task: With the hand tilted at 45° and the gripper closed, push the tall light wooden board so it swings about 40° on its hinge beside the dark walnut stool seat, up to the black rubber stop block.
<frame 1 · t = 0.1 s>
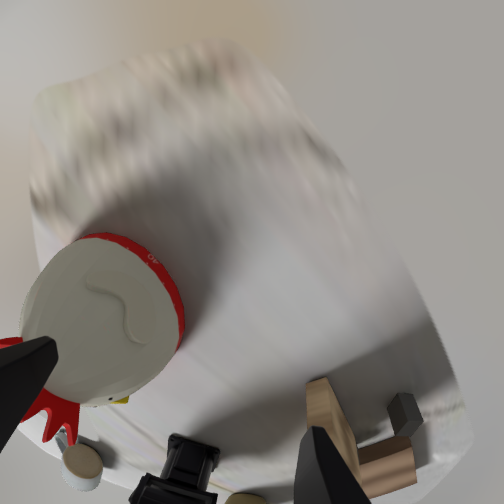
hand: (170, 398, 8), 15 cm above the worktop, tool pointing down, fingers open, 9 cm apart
squeeze bottle: (247, 498, 35), on the worktop
stop block: (399, 401, 25), on the worktop
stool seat: (349, 443, 28), on the worktop
kitchen timer: (116, 304, 25), on the worktop
ceramic mug: (83, 448, 37), on the worktop
light wooden board: (342, 474, 20), point 7 cm above the worktop, hinge at 0.0°
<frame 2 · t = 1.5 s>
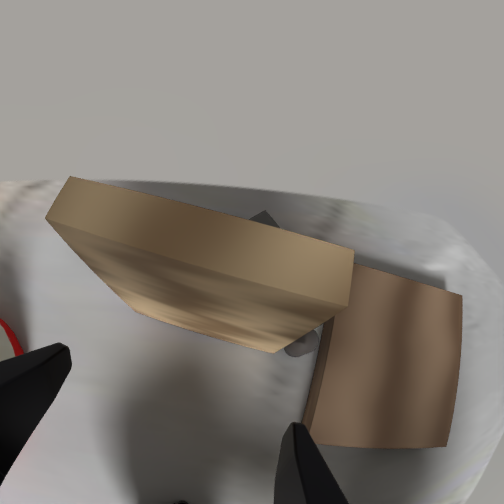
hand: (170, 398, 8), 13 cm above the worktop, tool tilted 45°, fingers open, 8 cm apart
stop block: (257, 251, 25), on the worktop
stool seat: (294, 346, 22), on the worktop
light wooden board: (220, 301, 16), point 7 cm above the worktop, hinge at 0.0°
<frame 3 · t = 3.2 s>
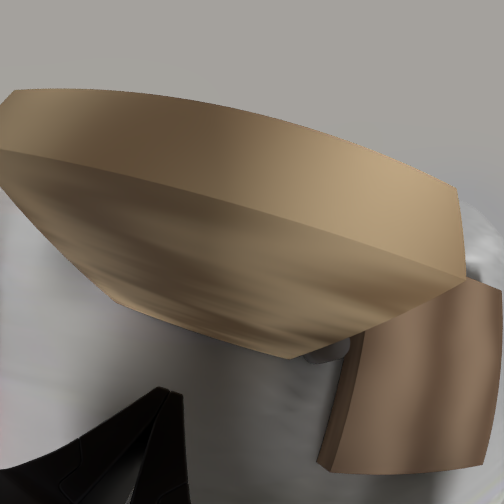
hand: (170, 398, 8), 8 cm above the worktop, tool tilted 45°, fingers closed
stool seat: (315, 350, 17), on the worktop
light wooden board: (224, 287, 11), point 7 cm above the worktop, hinge at 0.0°
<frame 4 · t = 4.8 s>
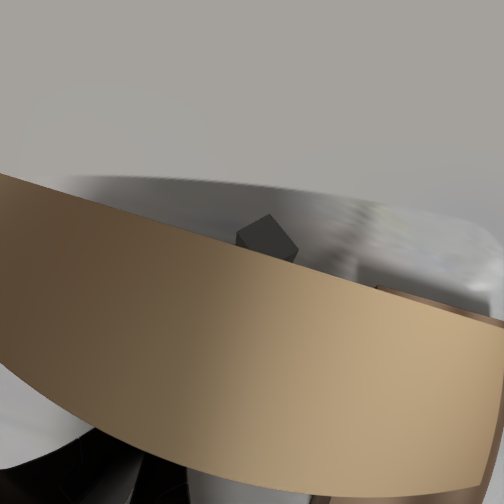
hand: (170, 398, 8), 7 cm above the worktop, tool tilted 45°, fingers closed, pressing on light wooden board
stop block: (258, 271, 18), on the worktop
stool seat: (307, 402, 15), on the worktop
light wooden board: (193, 367, 9), point 7 cm above the worktop, hinge at 1.5°, touching gripper
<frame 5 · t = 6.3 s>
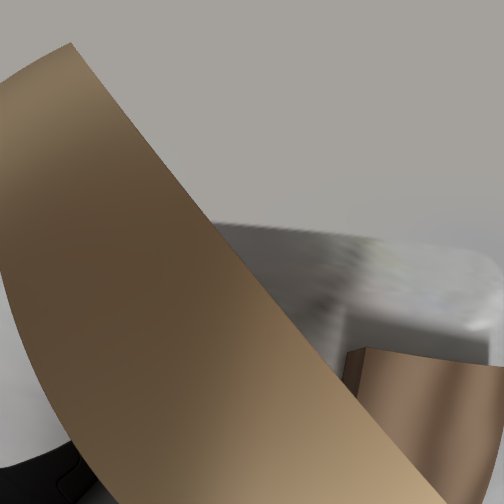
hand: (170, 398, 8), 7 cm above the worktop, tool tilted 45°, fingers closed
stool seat: (286, 461, 13), on the worktop
light wooden board: (217, 389, 8), point 7 cm above the worktop, hinge at 37.6°, touching gripper
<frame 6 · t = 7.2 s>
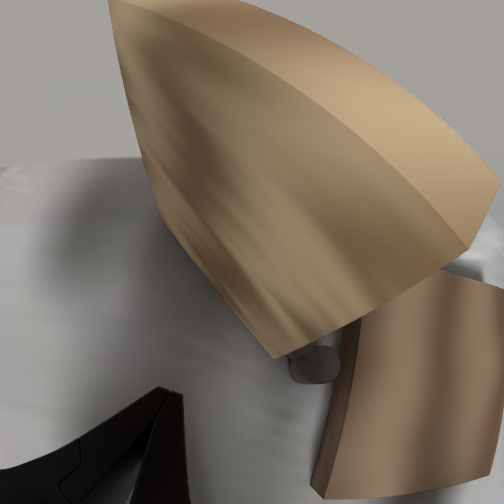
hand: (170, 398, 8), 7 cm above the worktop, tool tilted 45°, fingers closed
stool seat: (303, 368, 16), on the worktop
light wooden board: (247, 229, 11), point 7 cm above the worktop, hinge at 37.6°
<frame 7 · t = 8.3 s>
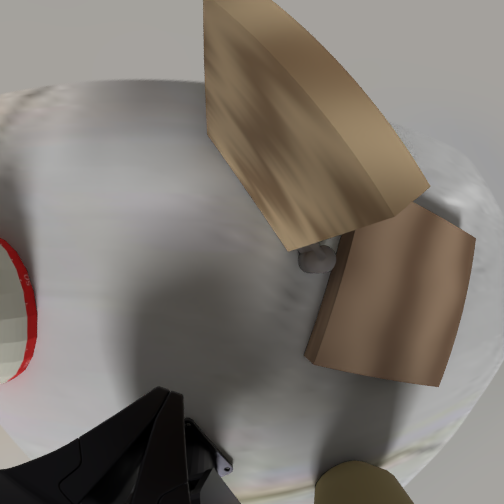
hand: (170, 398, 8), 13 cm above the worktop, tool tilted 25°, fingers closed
squeeze bottle: (342, 480, 22), on the worktop
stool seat: (308, 261, 22), on the worktop
light wooden board: (287, 162, 15), point 7 cm above the worktop, hinge at 37.6°
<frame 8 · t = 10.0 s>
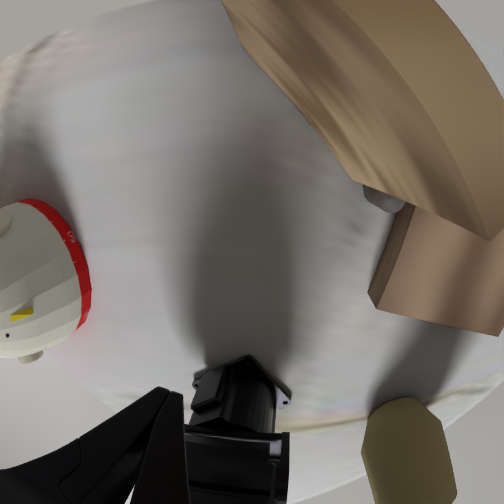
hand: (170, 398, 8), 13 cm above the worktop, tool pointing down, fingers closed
squeeze bottle: (394, 414, 24), on the worktop
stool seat: (375, 189, 18), on the worktop
kitchen timer: (40, 269, 24), on the worktop
light wooden board: (343, 92, 10), point 7 cm above the worktop, hinge at 37.6°
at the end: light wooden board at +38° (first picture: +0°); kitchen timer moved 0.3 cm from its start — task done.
